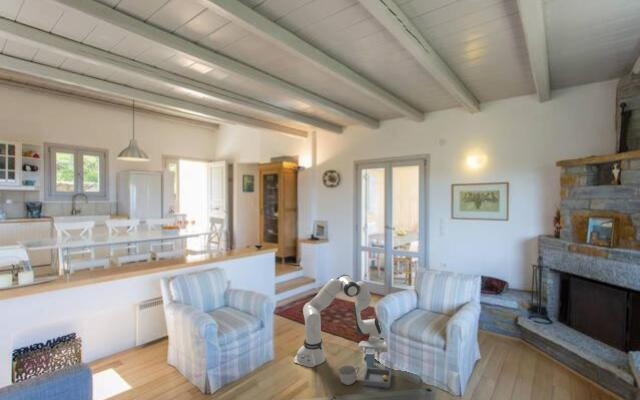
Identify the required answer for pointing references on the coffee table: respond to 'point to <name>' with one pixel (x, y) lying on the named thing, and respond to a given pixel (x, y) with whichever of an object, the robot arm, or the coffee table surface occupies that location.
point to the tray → (377, 377)
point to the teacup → (348, 374)
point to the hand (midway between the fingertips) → (371, 352)
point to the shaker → (370, 358)
